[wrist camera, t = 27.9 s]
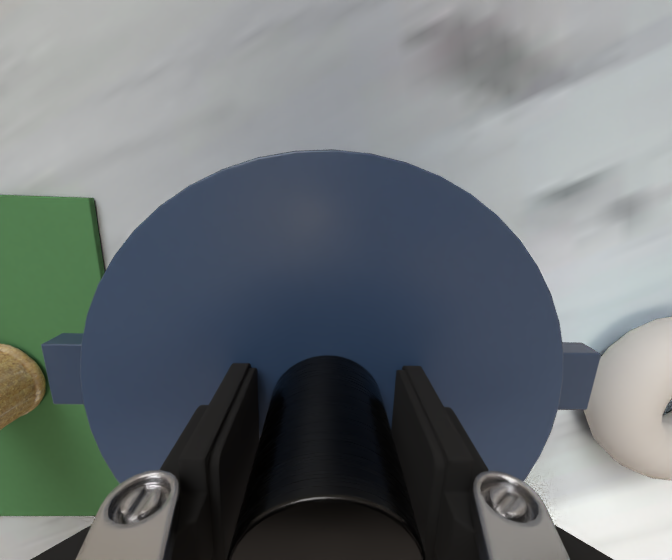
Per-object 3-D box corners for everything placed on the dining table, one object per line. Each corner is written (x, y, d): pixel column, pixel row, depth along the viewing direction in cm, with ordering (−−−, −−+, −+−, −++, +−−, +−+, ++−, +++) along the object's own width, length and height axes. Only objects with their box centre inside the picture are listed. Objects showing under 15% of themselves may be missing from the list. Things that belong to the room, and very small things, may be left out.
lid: (67, 145, 10) (-371, 59, 4) (583, 163, 10) (961, 114, 4) (134, 548, 13) (-21, 834, 7) (503, 546, 14) (637, 810, 8)
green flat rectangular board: (-155, 189, 16) (-167, 189, 16) (94, 198, 16) (88, 198, 16) (-49, 510, 21) (-56, 516, 21) (140, 510, 21) (137, 516, 21)
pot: (131, 172, 16) (-26, 153, 9) (524, 186, 17) (670, 178, 10) (161, 423, 20) (66, 552, 13) (483, 426, 20) (567, 550, 13)
